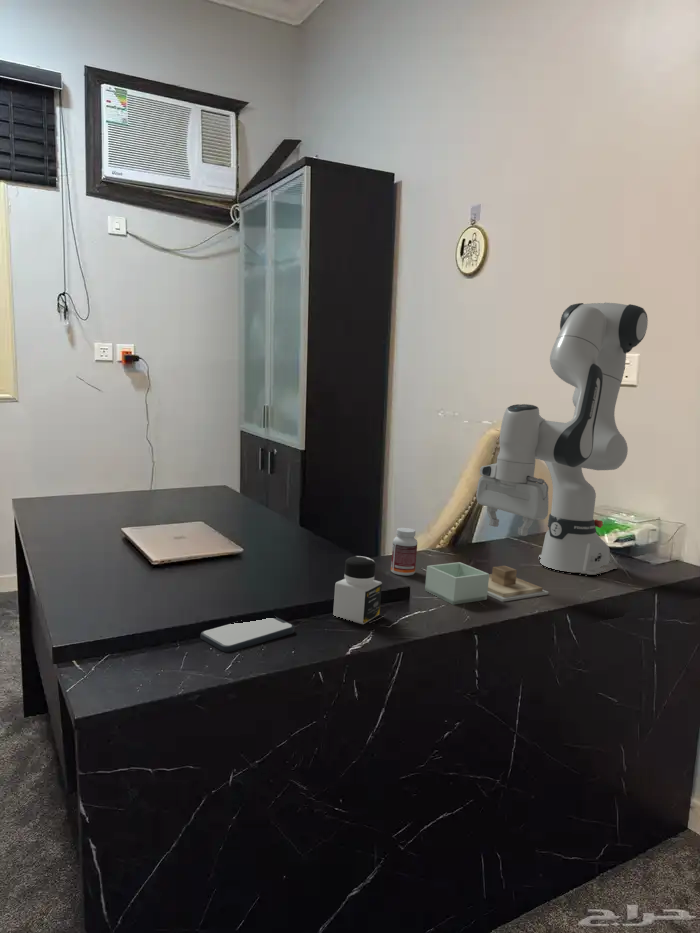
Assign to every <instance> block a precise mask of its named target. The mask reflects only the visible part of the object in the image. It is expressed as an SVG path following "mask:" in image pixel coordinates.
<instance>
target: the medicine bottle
mask: <svg viewBox="0 0 700 933" xmlns="http://www.w3.org/2000/svg"><path fill="white" fill-rule="evenodd" d="M375 572H376V561H375V560H374V559H372V558H370V557H367V556H361V555H355V556H354V555H353V556H350V557H348V558H347V559H345V564H344V576H343V579H340V580H338V581H336V582H335V585H334V594H333V595H334V600H333V609H332V610H333V612H332V613H333V614H332V615H334V616H336V617H335V618H338V617H340V618H339V619H341V618H343V619H342V620H345V619H346V621H349V620H350V621H349V622H352V621H353V623H357V624H360V625H364V624H366V623H368V622H370V621H372V620H373V619H374V618H377V617H378V616H379V615H380V610H381V598H382V588H383V587H382V585H383V582H382V581H380V580H376V579H375V574H376V573H375ZM334 616H333V617H334Z"/></svg>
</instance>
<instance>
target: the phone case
mask: <svg viewBox="0 0 700 933" xmlns="http://www.w3.org/2000/svg"><path fill="white" fill-rule="evenodd" d="M275 617H276V618H266V619H262V620H256V621H250V622H243V623H235V622H233V623H234V624H231V623H228V624H224V625H221V626H217V627H214V628H210V629H206V630H202V631H201V633H200V639H201V640H202V641H203V642H205V643H207V644H210V645H211V646H212V647H214V648H216V649H218V650H219V651H221V652H224V653H225V652H227V653H231V652H234V651H237V650H241V649H244V648H248V647H251V646H255V645H258V644H261V643H265V642H269V641H273V640H275V639H280V638H282V637H286V636H289V635H293V634H294V633H295V625H294V624H293V623H290V622H288V621H286V620H284V619H281V618H279V617H277V616H275Z"/></svg>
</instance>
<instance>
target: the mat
mask: <svg viewBox="0 0 700 933" xmlns="http://www.w3.org/2000/svg"><path fill="white" fill-rule="evenodd" d="M546 595H549V591H548V590H544V589H543V590H542V591H540V592H533V593H527V594H521V595H514V596H508V597H501V596H499V595H496V594H494V593H492V592H490V591H488V592H487V596H489V597H491V598H493V599H496V600H498V601H500V602H504V603H505V602H509V601H515V600H521V599H529V598H534V597H541V596H546Z"/></svg>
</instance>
